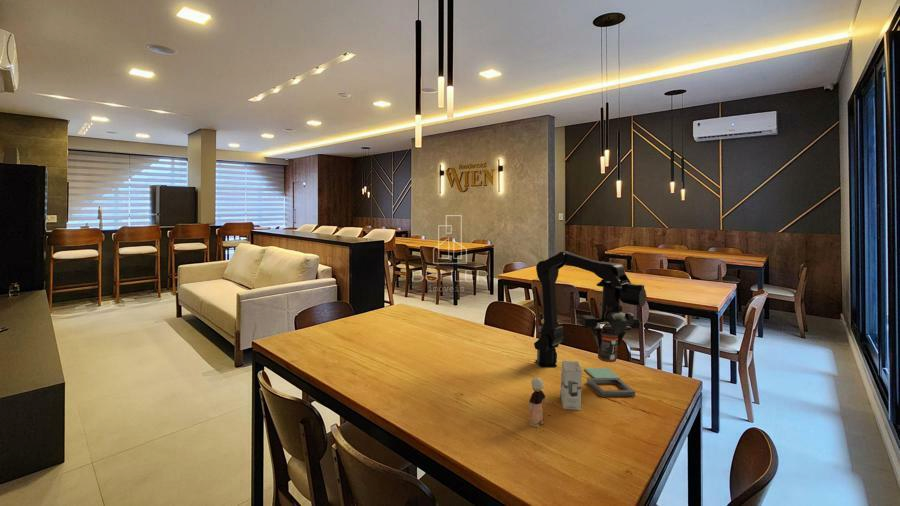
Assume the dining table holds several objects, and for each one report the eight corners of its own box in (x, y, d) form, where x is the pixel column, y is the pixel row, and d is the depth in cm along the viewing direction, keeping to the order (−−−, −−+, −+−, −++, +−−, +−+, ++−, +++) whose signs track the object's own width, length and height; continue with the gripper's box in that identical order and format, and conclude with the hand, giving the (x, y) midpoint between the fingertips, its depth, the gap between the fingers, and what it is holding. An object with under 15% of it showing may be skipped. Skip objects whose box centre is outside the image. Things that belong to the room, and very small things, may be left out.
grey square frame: (601, 396, 128) (601, 392, 128) (586, 382, 139) (587, 378, 139) (634, 396, 129) (635, 391, 129) (618, 382, 140) (618, 378, 140)
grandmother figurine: (534, 416, 115) (536, 372, 114) (547, 420, 113) (549, 375, 112) (522, 427, 109) (524, 381, 107) (536, 432, 106) (538, 384, 105)
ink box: (559, 396, 128) (561, 359, 127) (576, 397, 128) (577, 360, 127) (563, 409, 120) (565, 369, 119) (580, 410, 119) (582, 371, 118)
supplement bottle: (618, 363, 135) (620, 330, 134) (598, 361, 136) (601, 328, 135) (614, 357, 141) (617, 325, 140) (596, 355, 142) (598, 323, 141)
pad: (595, 379, 142) (595, 378, 142) (584, 370, 151) (584, 368, 151) (620, 379, 143) (620, 377, 143) (608, 369, 152) (608, 368, 152)
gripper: (593, 306, 128) (590, 354, 130) (651, 307, 129) (647, 355, 131) (580, 298, 139) (577, 343, 141) (633, 299, 140) (630, 344, 142)
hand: (607, 346), depth 138 cm, fingers closed on supplement bottle, 6 cm apart
